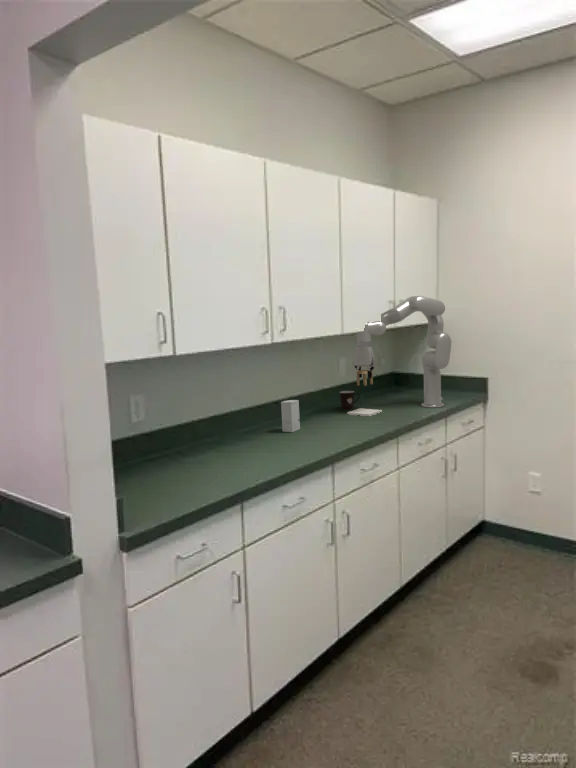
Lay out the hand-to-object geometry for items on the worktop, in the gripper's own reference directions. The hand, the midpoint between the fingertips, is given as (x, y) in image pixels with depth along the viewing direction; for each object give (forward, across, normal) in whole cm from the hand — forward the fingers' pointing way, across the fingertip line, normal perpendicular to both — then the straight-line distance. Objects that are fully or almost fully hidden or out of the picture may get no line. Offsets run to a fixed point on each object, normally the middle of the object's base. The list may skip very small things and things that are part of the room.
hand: (364, 377), depth 322 cm
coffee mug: (+20, -16, +9) cm, 27 cm away
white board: (+20, 0, 0) cm, 20 cm away
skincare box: (+21, -10, -54) cm, 59 cm away
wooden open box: (+4, 0, 0) cm, 4 cm away
